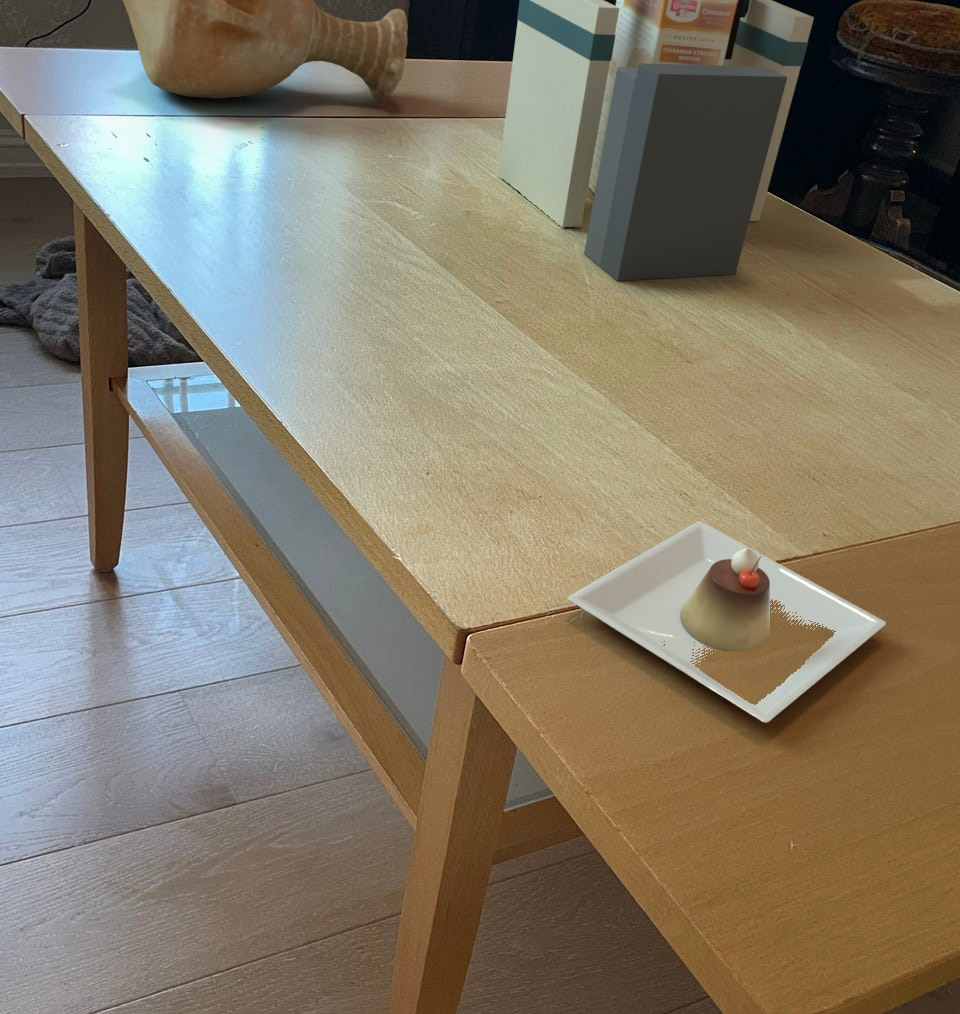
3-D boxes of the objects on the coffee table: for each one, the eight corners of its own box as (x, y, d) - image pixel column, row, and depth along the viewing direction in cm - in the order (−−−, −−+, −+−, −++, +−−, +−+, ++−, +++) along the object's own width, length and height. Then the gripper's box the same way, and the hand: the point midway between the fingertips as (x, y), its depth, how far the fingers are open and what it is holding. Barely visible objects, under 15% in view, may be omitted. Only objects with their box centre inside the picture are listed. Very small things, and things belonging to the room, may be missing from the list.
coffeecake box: (688, 227, 109) (742, -4, 97) (618, 224, 107) (664, -12, 95) (636, 175, 120) (679, -39, 108) (571, 171, 119) (607, -46, 106)
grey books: (698, 248, 105) (744, 56, 95) (735, 274, 101) (787, 76, 91) (583, 253, 100) (619, 52, 90) (617, 281, 96) (658, 73, 86)
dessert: (759, 741, 53) (789, 661, 50) (562, 614, 59) (578, 536, 56) (880, 639, 61) (912, 564, 58) (694, 536, 67) (715, 463, 64)
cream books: (684, 173, 123) (726, -18, 112) (760, 221, 113) (815, 17, 102) (497, 176, 114) (523, -31, 103) (562, 228, 105) (598, 6, 94)
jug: (94, -63, 123) (359, -11, 137) (105, 118, 124) (368, 152, 137) (125, -179, 105) (427, -106, 119) (138, 33, 106) (436, 83, 119)
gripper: (808, -225, 100) (747, 47, 113) (555, -258, 90) (520, 42, 104) (863, -217, 95) (792, 66, 108) (601, -251, 85) (559, 64, 98)
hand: (659, 55), depth 106 cm, fingers open, 13 cm apart
